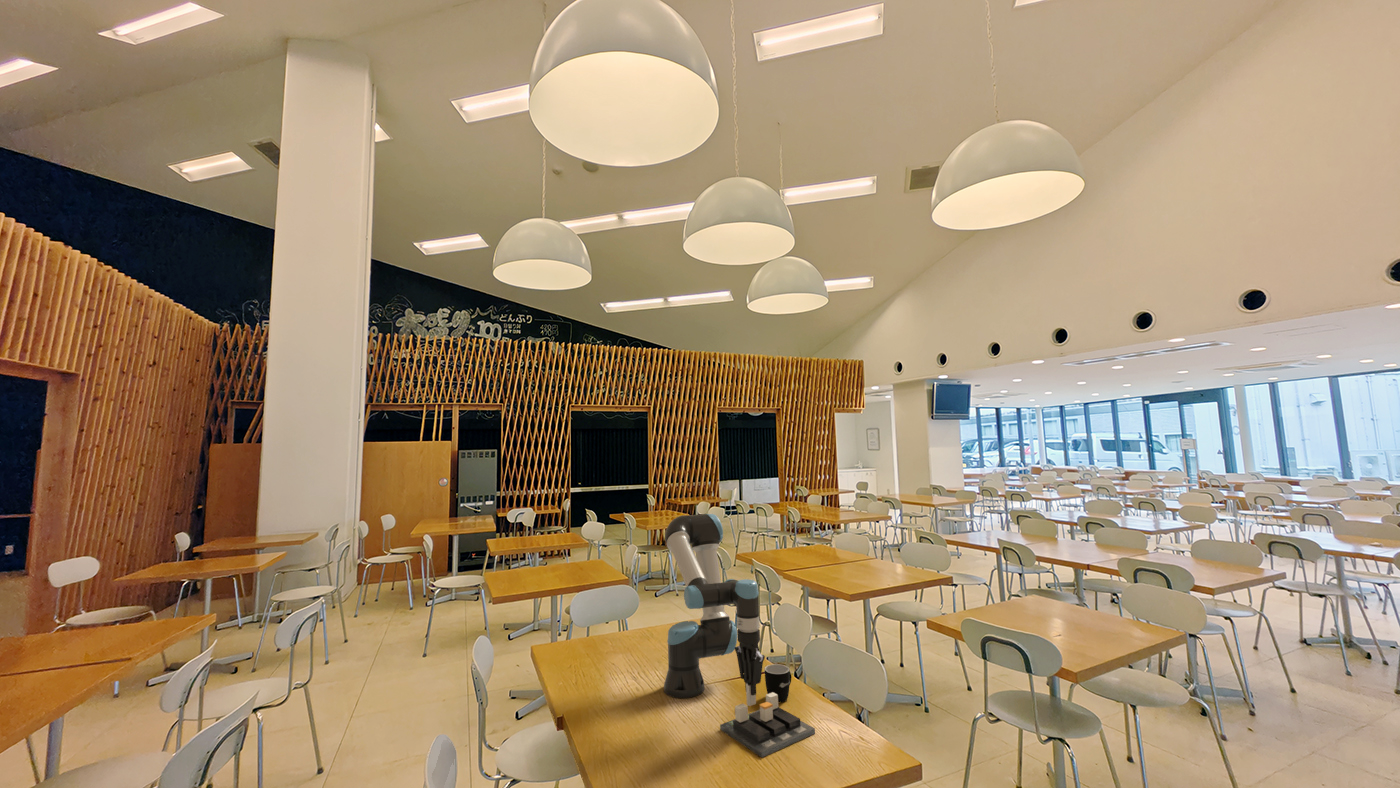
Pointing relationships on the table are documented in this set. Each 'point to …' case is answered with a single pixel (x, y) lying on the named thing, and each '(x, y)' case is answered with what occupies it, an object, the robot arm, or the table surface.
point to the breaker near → (741, 712)
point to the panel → (770, 749)
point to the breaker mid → (766, 711)
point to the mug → (778, 680)
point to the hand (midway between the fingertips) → (751, 704)
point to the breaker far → (772, 699)
